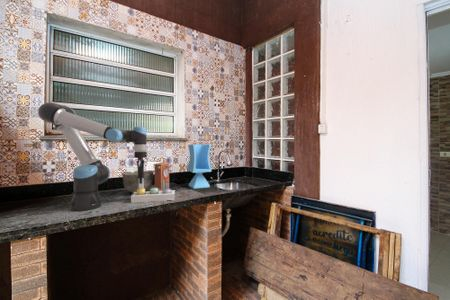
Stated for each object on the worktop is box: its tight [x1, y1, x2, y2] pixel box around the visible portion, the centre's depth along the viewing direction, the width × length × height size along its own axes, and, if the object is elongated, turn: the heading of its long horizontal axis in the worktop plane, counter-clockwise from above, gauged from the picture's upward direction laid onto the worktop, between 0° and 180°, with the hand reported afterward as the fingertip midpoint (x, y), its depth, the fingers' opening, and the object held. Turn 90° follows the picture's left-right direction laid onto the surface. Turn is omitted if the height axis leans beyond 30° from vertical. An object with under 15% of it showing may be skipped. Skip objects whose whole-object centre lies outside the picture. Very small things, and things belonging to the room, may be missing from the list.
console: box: [130, 189, 176, 204], centre depth 145 cm, size 26×12×4 cm, turn 103°
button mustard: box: [137, 188, 146, 195], centre depth 143 cm, size 5×5×3 cm
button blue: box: [163, 188, 172, 194], centre depth 147 cm, size 5×5×3 cm
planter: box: [186, 144, 212, 190], centre depth 186 cm, size 16×16×35 cm
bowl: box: [121, 170, 155, 194], centre depth 164 cm, size 22×22×15 cm
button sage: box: [149, 187, 158, 194], centre depth 145 cm, size 5×5×3 cm
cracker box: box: [154, 162, 170, 191], centre depth 166 cm, size 21×7×15 cm
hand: (141, 188), depth 143 cm, fingers closed
